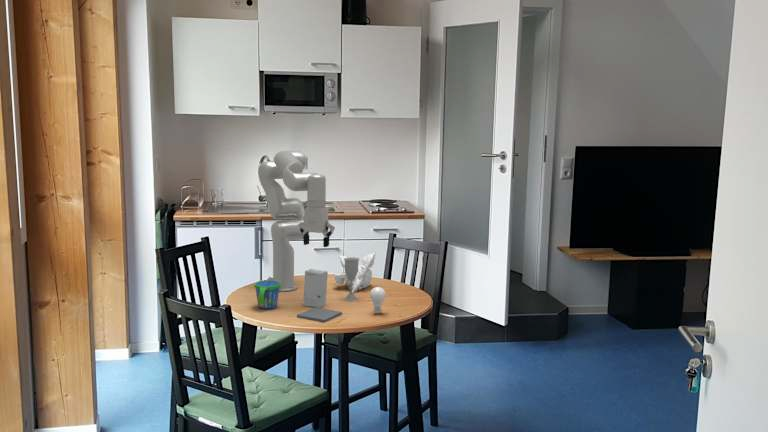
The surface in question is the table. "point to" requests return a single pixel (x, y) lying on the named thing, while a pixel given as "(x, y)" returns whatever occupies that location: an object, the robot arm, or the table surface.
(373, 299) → the lightbulb
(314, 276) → the skincare box
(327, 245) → the robot arm
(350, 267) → the chalice
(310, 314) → the charcoal mat
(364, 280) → the white bumpy sculpture
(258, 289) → the snack cup
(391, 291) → the table surface
